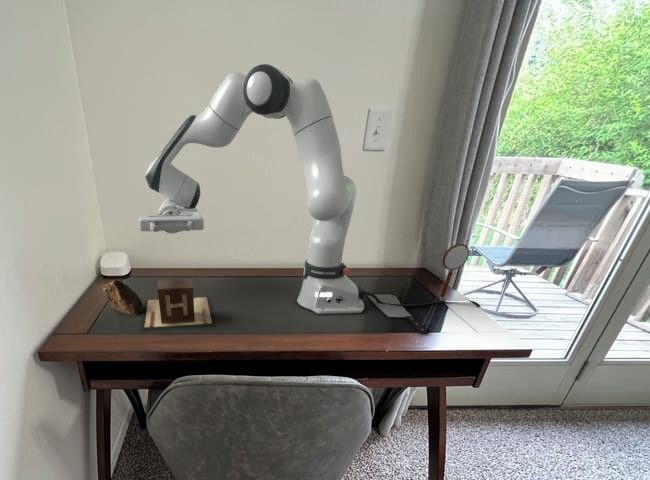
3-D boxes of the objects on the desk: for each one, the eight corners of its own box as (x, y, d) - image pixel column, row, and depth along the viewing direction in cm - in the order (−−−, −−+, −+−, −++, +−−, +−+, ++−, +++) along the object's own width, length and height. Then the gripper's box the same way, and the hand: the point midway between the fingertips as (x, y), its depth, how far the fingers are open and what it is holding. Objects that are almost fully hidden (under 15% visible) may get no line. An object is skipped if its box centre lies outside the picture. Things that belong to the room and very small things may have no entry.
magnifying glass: (430, 302, 124) (449, 244, 113) (427, 300, 126) (446, 243, 115) (453, 301, 125) (474, 244, 114) (450, 299, 127) (471, 243, 116)
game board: (206, 299, 124) (206, 296, 123) (212, 325, 107) (212, 322, 106) (148, 302, 121) (147, 298, 120) (144, 329, 104) (144, 326, 104)
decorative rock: (104, 311, 114) (98, 279, 108) (117, 304, 119) (111, 273, 113) (135, 318, 110) (129, 285, 104) (146, 311, 115) (142, 279, 109)
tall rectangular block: (193, 311, 113) (191, 279, 107) (195, 322, 107) (192, 288, 101) (162, 313, 112) (158, 280, 106) (161, 324, 106) (157, 289, 100)
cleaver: (397, 333, 104) (430, 333, 104) (397, 332, 104) (431, 332, 104) (366, 295, 129) (393, 295, 129) (366, 294, 128) (394, 294, 129)
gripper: (138, 209, 114) (134, 218, 103) (201, 208, 117) (204, 216, 105) (140, 229, 117) (137, 240, 106) (202, 227, 120) (205, 238, 109)
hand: (171, 228), depth 106 cm, fingers open, 8 cm apart
